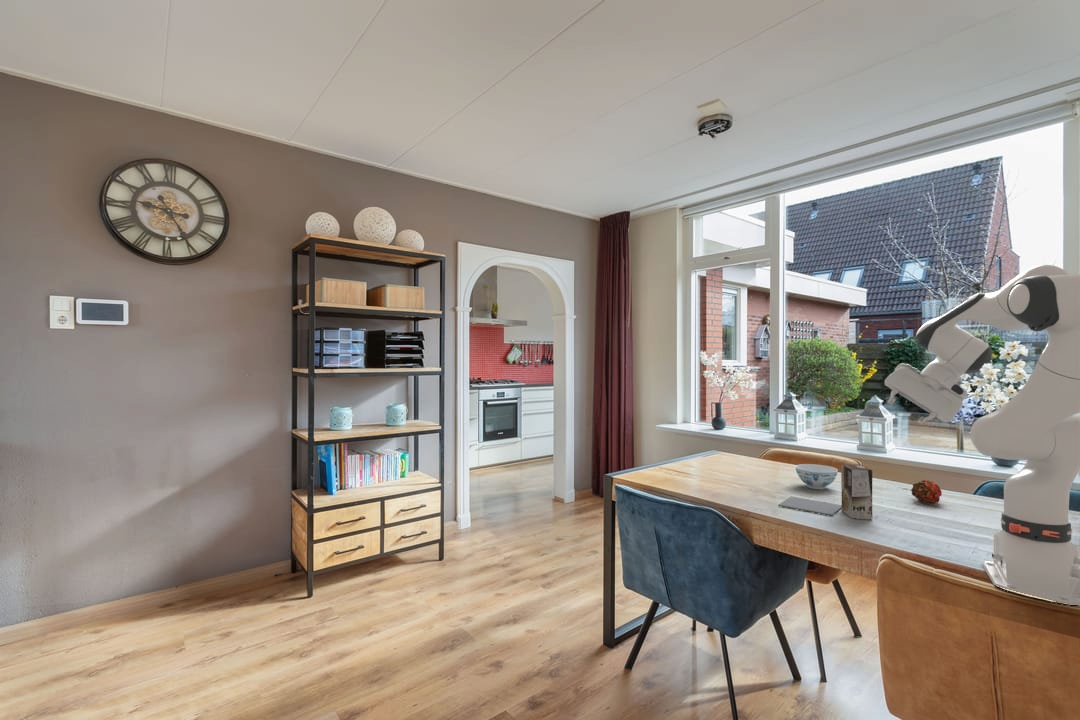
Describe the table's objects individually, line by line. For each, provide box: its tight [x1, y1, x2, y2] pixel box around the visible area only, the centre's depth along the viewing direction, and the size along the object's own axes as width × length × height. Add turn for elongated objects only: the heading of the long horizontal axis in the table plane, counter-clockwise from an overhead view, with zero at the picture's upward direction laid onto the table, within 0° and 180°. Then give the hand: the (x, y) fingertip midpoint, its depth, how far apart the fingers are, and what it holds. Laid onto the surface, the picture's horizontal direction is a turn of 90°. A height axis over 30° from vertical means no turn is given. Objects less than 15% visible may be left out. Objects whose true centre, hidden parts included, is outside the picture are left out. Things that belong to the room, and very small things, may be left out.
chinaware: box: [795, 463, 839, 490], centre depth 204 cm, size 15×15×8 cm
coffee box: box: [840, 463, 873, 520], centre depth 169 cm, size 9×6×16 cm
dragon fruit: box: [910, 479, 943, 504], centre depth 183 cm, size 8×8×12 cm
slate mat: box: [777, 496, 842, 517], centre depth 178 cm, size 14×17×1 cm
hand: (904, 412), depth 157 cm, fingers open, 8 cm apart
